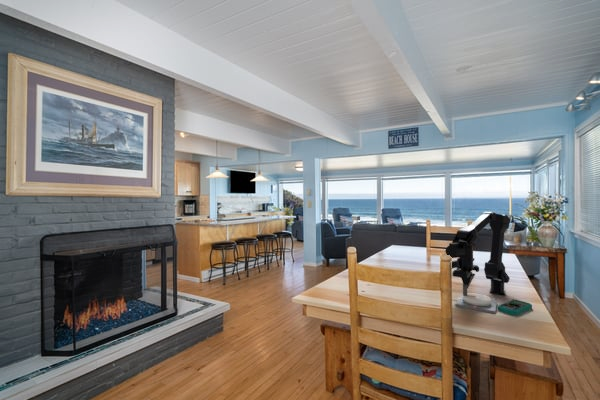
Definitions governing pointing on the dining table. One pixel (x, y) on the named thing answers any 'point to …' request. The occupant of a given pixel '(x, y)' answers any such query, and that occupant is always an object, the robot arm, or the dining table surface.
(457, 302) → the base plate
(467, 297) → the dial
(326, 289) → the dining table surface
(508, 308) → the digital multimeter
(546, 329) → the dining table surface
